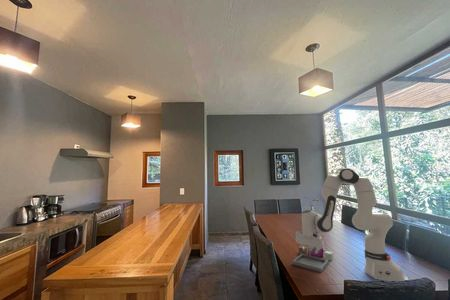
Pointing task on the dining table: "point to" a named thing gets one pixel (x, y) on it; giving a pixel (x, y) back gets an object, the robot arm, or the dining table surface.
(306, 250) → the walnut cube
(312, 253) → the candy bar box
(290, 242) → the dining table surface
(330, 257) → the sage cube
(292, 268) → the dining table surface
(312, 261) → the tray
